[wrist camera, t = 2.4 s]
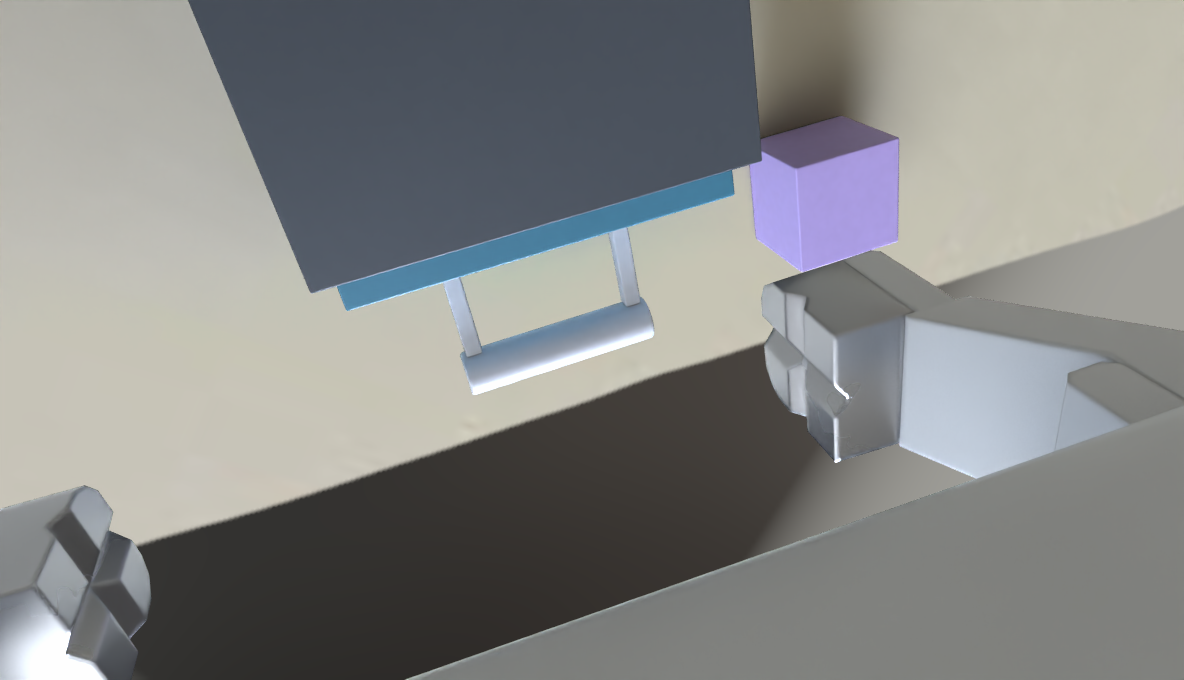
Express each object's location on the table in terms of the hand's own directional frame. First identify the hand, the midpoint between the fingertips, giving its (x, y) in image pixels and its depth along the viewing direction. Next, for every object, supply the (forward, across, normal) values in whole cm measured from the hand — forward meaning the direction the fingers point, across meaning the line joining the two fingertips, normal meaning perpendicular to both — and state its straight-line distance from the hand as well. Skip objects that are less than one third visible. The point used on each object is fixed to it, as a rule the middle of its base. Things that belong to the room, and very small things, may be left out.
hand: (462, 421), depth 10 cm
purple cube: (+22, +16, -8) cm, 28 cm away
